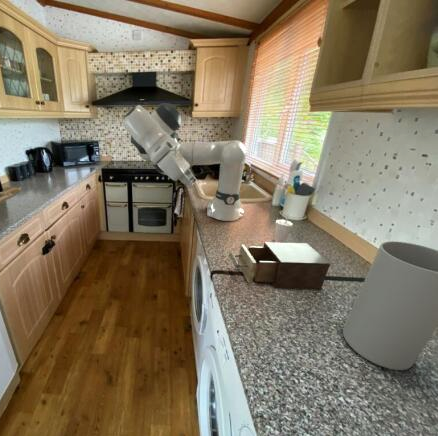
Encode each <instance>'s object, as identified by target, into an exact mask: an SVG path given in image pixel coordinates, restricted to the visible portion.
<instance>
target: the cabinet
mask: <svg viewBox="0 0 438 436" xmlns="http://www.w3.org/2000/svg"><path fill="white" fill-rule="evenodd" d="M262 247H267V248H268V249H269V251H270V252H271V253H272V254H273V255H274V257H275V258H276V259H277V260H278V261H279V263H280V264H279V267H278V271H277V275H276V279H275V282H270V283H271V285H272V286H273V288H275V289H277V288H278V289H302V290H303V289H305V290H307V289H308V290H322V288H323V285H324V283H325V280H326V277H327V274H328V272H329V269H330V266H331V262H329V261H328V260H327V259H326V258H325V257H323V256H322V255H321V254H320V253H319V252H317V250H315V249H314V248H313V247H312V246H311V245H309V243H306V242H285V243H276V242H274V241H272V242H271V241H270V242H269V241H264V243H263V246H262Z"/></svg>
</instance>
